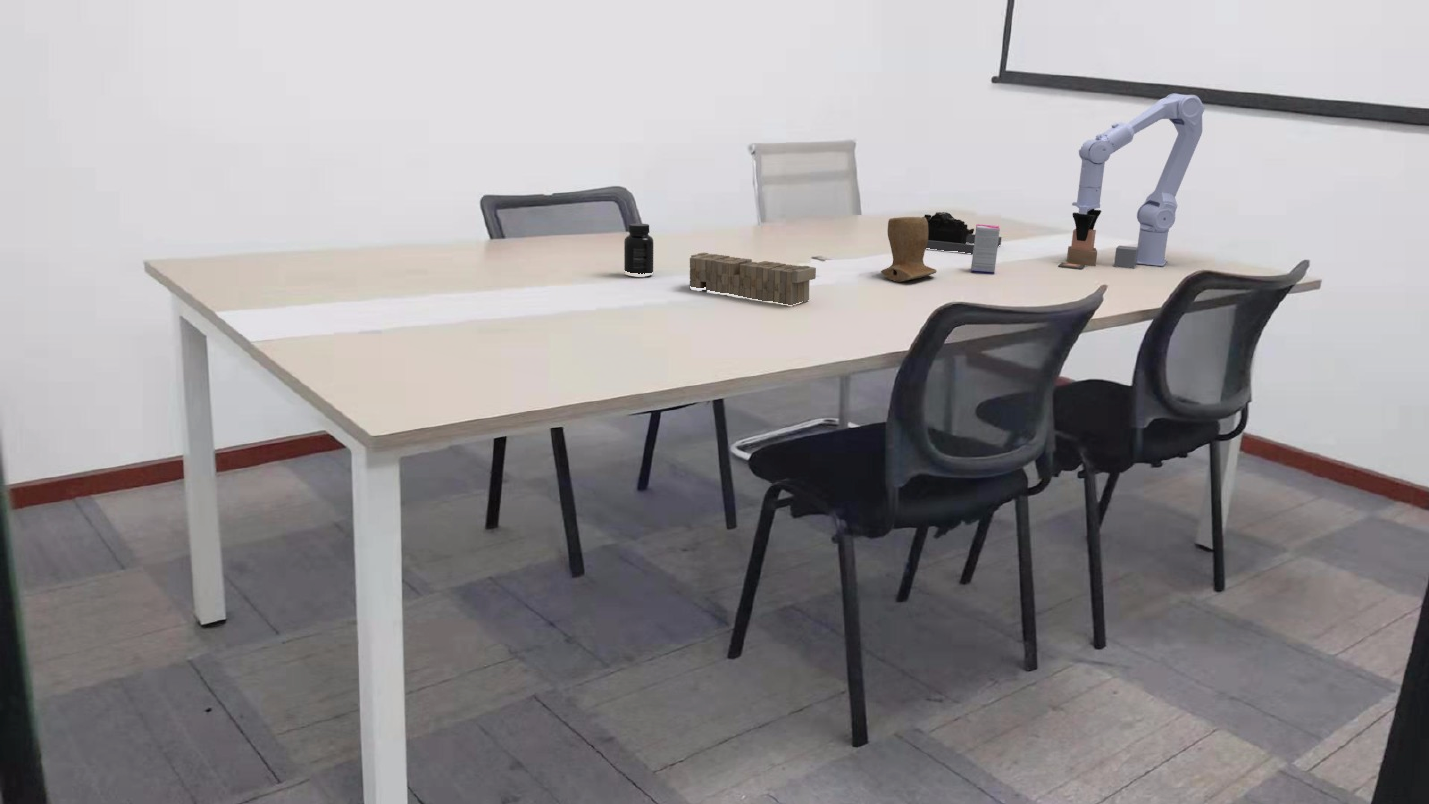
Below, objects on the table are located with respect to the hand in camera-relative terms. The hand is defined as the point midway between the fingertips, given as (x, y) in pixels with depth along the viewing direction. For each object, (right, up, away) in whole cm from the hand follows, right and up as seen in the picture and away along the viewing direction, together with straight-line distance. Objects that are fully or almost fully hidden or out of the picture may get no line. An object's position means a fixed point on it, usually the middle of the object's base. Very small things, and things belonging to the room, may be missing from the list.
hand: (1083, 238), depth 309 cm
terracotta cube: (0, -3, +1) cm, 3 cm away
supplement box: (-30, -11, -15) cm, 35 cm away
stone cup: (-52, -13, -26) cm, 59 cm away
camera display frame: (-31, +1, +22) cm, 38 cm away
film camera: (-33, 0, +20) cm, 38 cm away
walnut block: (0, -6, +2) cm, 7 cm away
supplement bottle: (-116, -14, -34) cm, 121 cm away
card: (-5, -8, -5) cm, 10 cm away
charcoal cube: (+11, -7, -1) cm, 13 cm away
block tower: (-90, -20, -52) cm, 106 cm away
